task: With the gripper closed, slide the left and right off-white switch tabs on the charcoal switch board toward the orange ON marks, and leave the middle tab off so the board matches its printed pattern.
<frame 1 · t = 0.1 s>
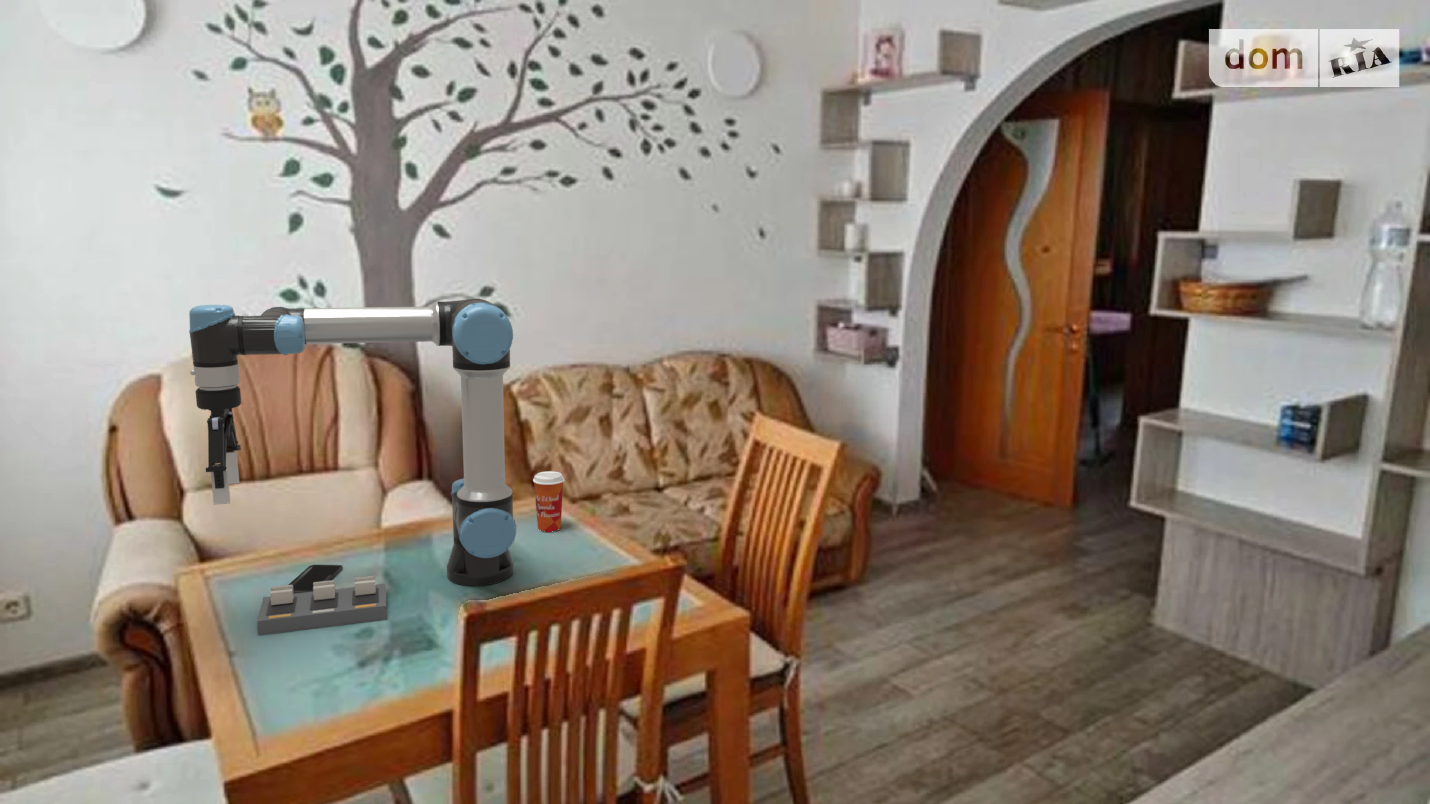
hand: (227, 493, 177), 28 cm above the table, tool pointing down, fingers open, 13 cm apart
switch tab 3: (282, 593, 187), point 5 cm above the table, slide at 0.0 cm
coffee cup: (549, 529, 244), on the table
switch tab 2: (324, 589, 190), point 5 cm above the table, slide at 0.0 cm
phone: (314, 582, 206), on the table
switch board: (325, 614, 189), on the table
switch tab 1: (365, 584, 193), point 5 cm above the table, slide at 0.0 cm
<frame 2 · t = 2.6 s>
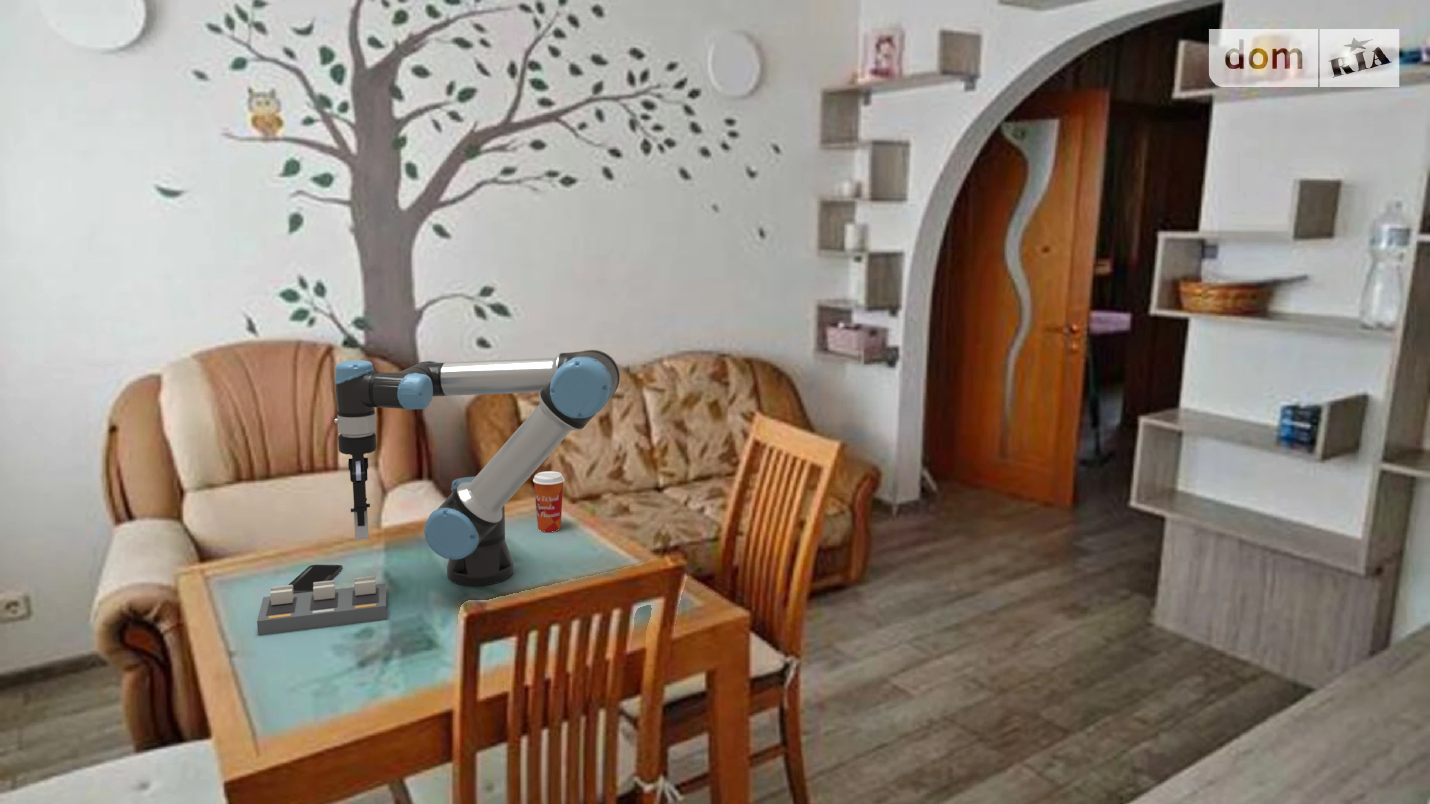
hand: (361, 538, 198), 13 cm above the table, tool pointing down, fingers closed
nothing on the table moved.
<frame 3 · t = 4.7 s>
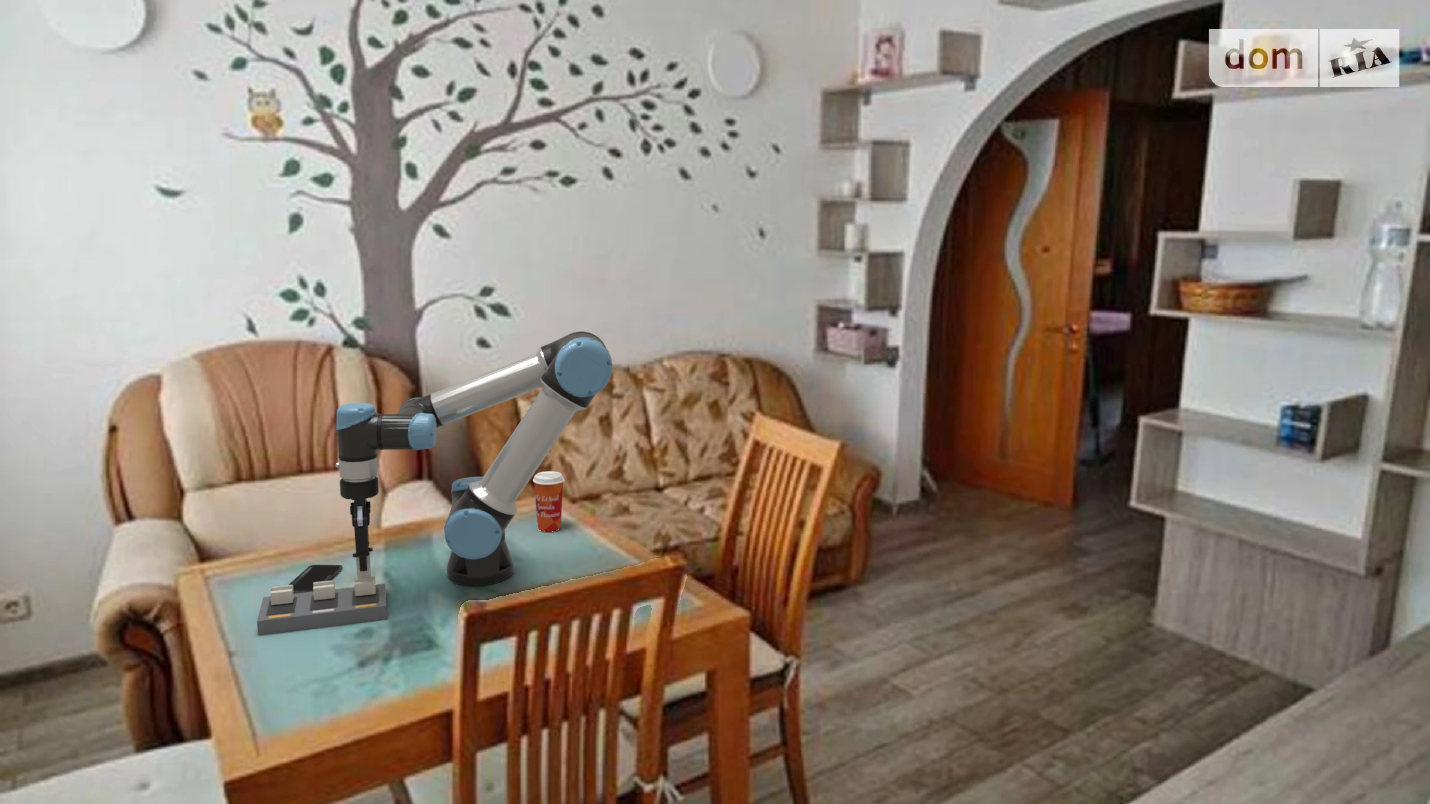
hand: (364, 583, 194), 4 cm above the table, tool pointing down, fingers closed
switch tab 1: (365, 585, 192), point 5 cm above the table, slide at 0.3 cm, touching gripper
everything else where it was.
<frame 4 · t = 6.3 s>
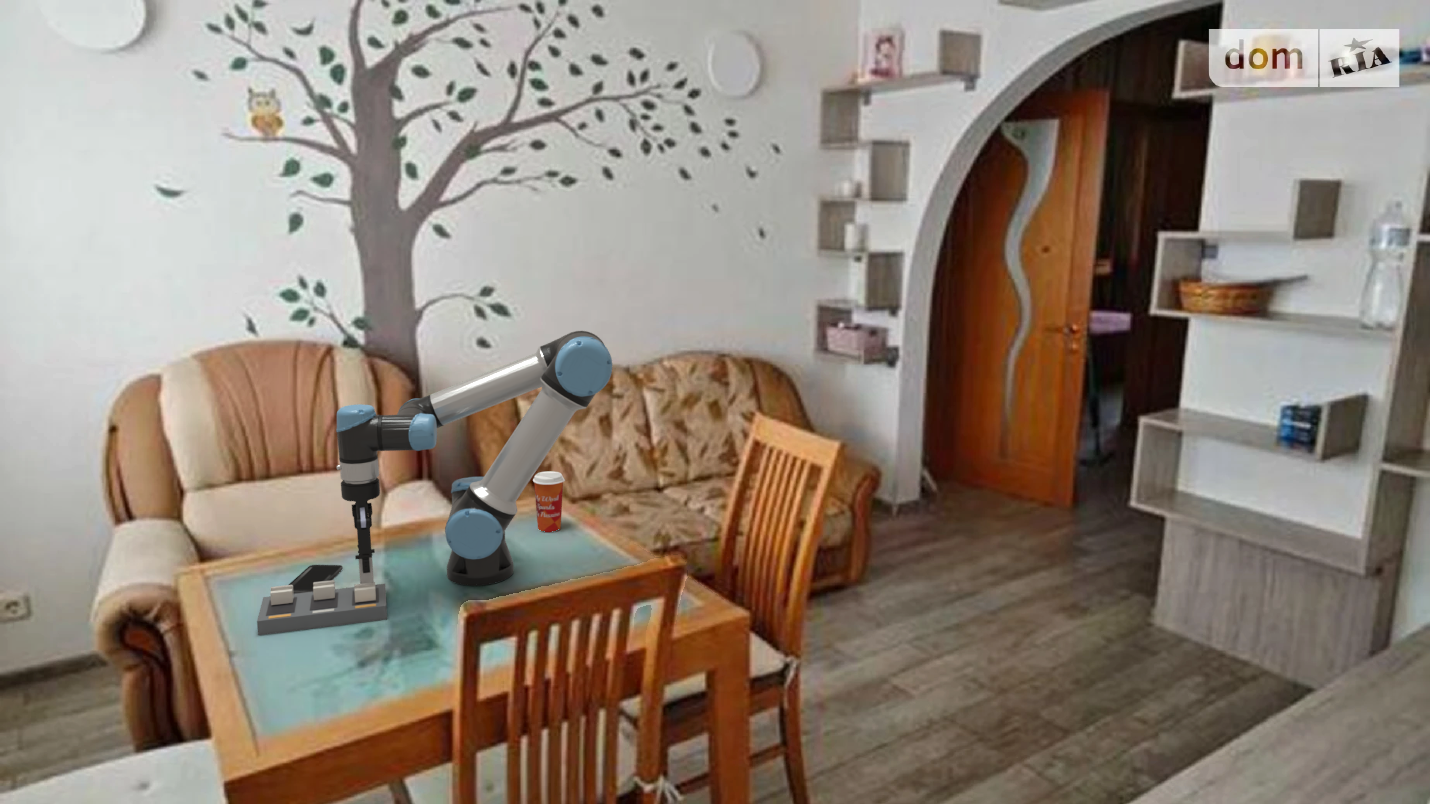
hand: (367, 584, 194), 4 cm above the table, tool pointing down, fingers closed
switch tab 1: (365, 591, 189), point 5 cm above the table, slide at 3.7 cm
everything else where it was.
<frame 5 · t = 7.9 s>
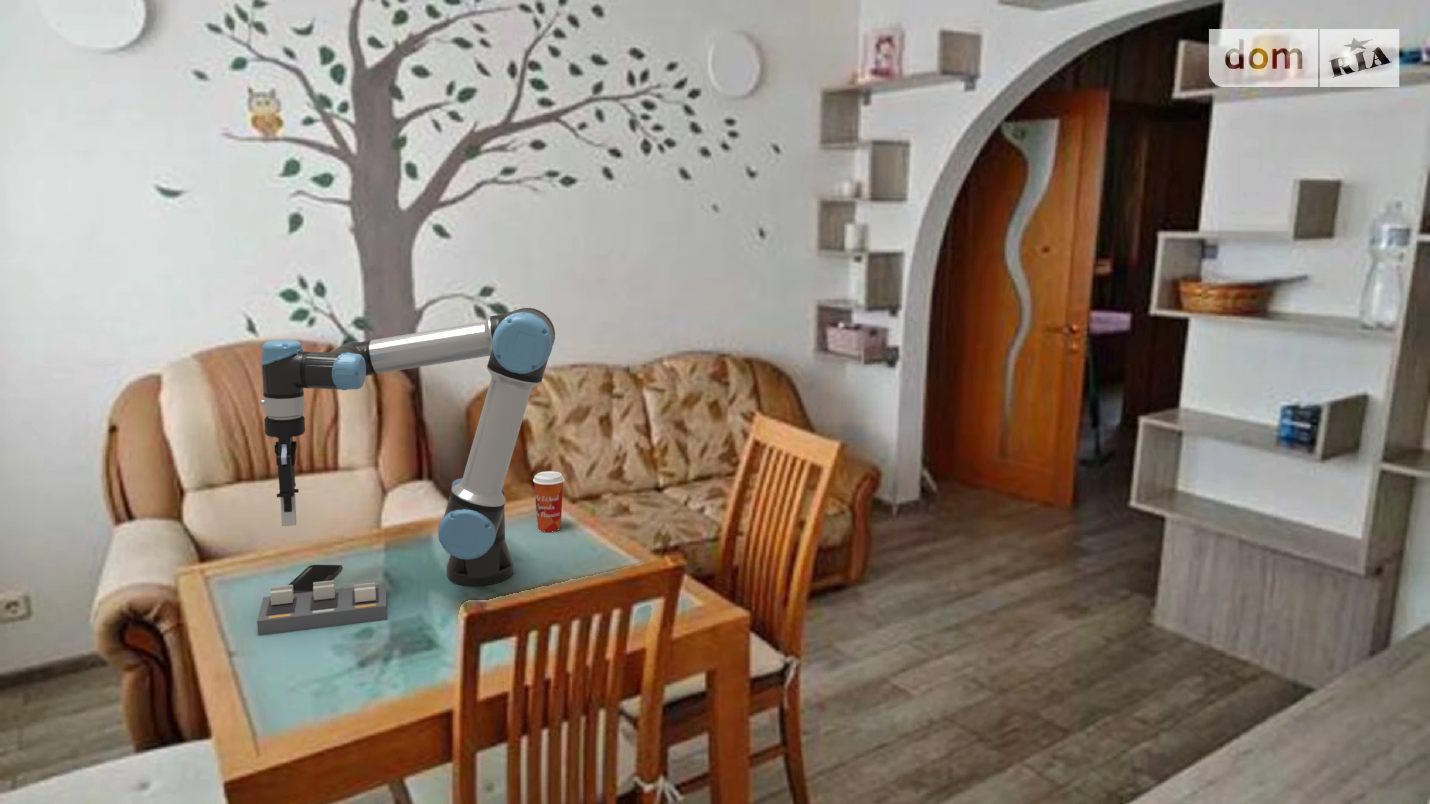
hand: (289, 524, 192), 17 cm above the table, tool pointing down, fingers closed
nothing on the table moved.
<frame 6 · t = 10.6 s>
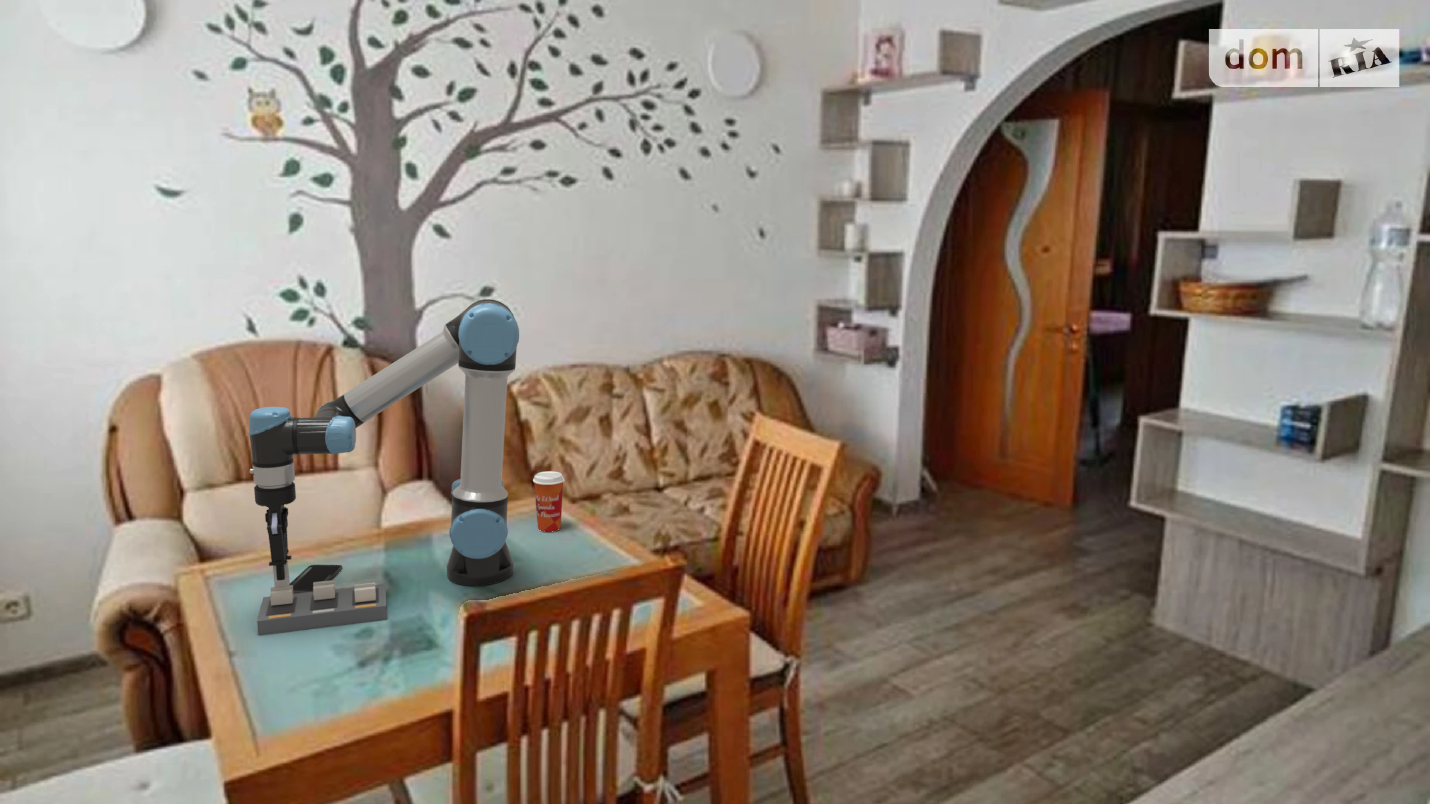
hand: (282, 592, 189), 4 cm above the table, tool pointing down, fingers closed
switch tab 3: (282, 594, 187), point 5 cm above the table, slide at 0.2 cm, touching gripper
everything else where it was.
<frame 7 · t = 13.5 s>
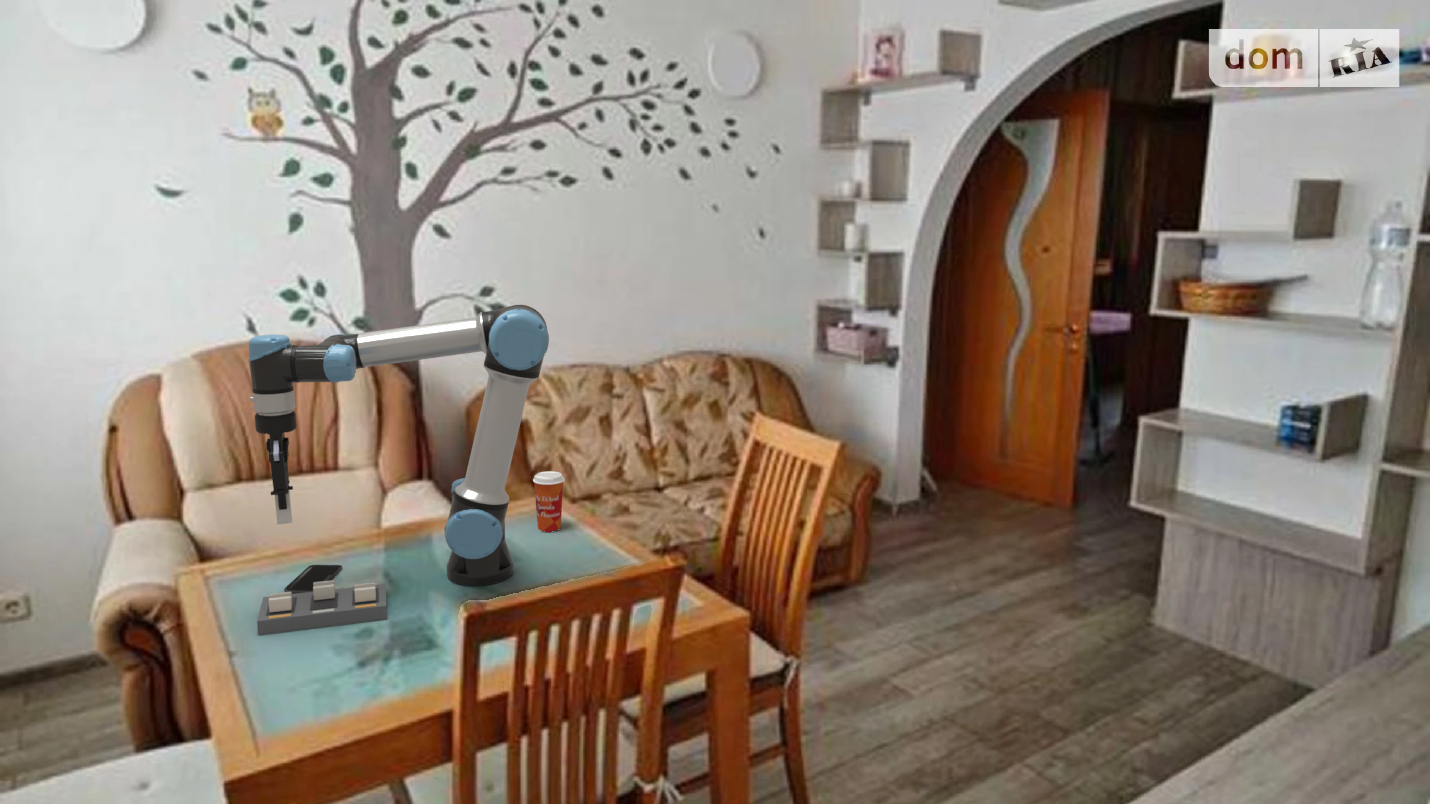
hand: (284, 522, 188), 19 cm above the table, tool pointing down, fingers closed
switch tab 3: (280, 600, 184), point 5 cm above the table, slide at 3.7 cm
everything else where it was.
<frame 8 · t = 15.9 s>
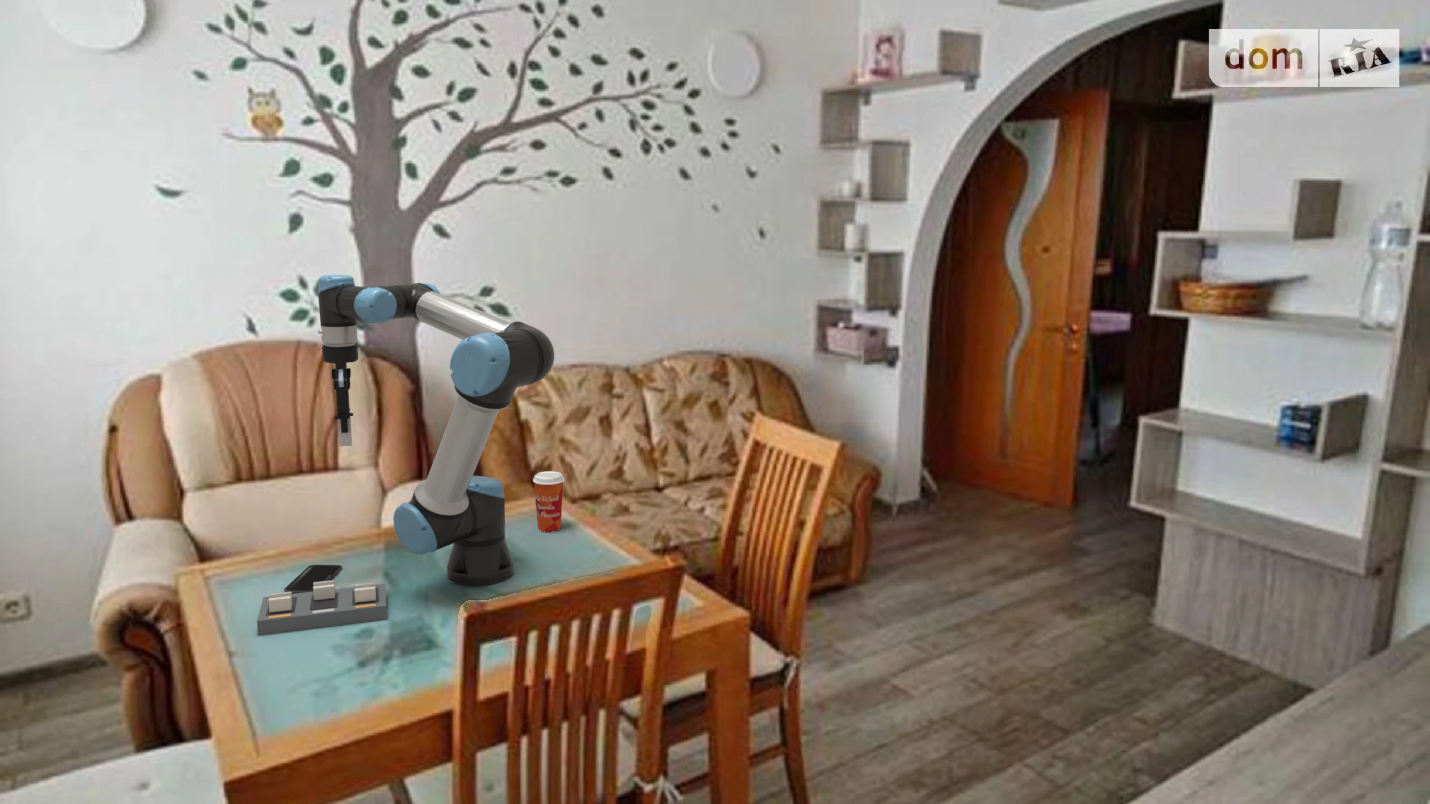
hand: (345, 445, 210), 29 cm above the table, tool pointing down, fingers closed
nothing on the table moved.
at the end: switch tab 1 slide at 3.7 cm; switch tab 3 slide at 3.7 cm; switch tab 2 slide at 0.0 cm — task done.
